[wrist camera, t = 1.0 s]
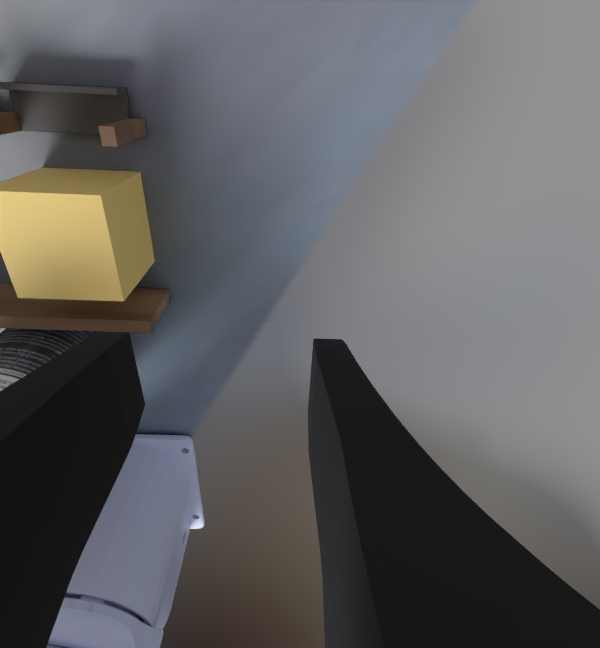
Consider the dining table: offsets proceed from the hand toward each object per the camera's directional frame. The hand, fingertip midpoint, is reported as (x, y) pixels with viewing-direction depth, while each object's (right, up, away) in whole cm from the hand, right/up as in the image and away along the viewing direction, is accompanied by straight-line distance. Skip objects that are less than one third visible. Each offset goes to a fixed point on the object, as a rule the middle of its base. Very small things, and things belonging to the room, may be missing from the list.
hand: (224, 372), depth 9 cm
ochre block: (-7, +6, +9) cm, 13 cm away
